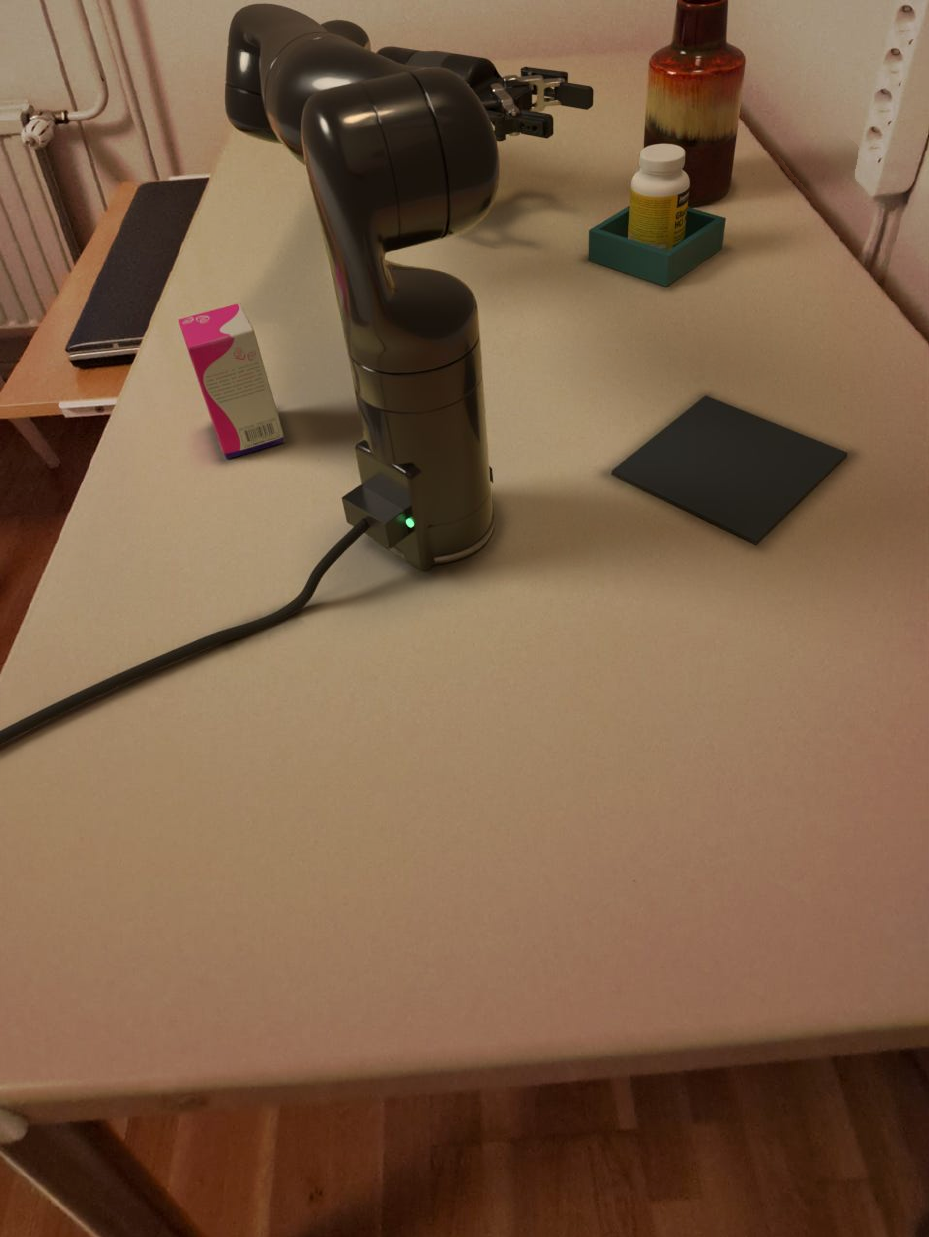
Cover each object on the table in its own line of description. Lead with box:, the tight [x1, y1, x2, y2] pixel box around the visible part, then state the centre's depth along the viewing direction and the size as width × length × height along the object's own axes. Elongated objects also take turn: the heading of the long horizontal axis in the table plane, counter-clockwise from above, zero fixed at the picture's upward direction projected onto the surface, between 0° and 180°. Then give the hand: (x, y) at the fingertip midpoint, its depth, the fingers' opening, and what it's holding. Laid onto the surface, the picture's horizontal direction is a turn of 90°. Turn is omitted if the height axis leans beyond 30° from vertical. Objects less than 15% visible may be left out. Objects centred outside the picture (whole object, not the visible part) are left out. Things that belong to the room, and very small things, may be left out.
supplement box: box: [178, 302, 286, 460], centre depth 84 cm, size 6×6×12 cm
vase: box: [642, 0, 747, 208], centre depth 109 cm, size 11×11×20 cm
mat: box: [610, 394, 848, 545], centre depth 79 cm, size 14×14×1 cm
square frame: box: [587, 205, 727, 288], centre depth 104 cm, size 11×11×4 cm
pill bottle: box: [628, 144, 690, 251], centre depth 101 cm, size 6×6×11 cm
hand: (572, 112), depth 101 cm, fingers open, 8 cm apart
